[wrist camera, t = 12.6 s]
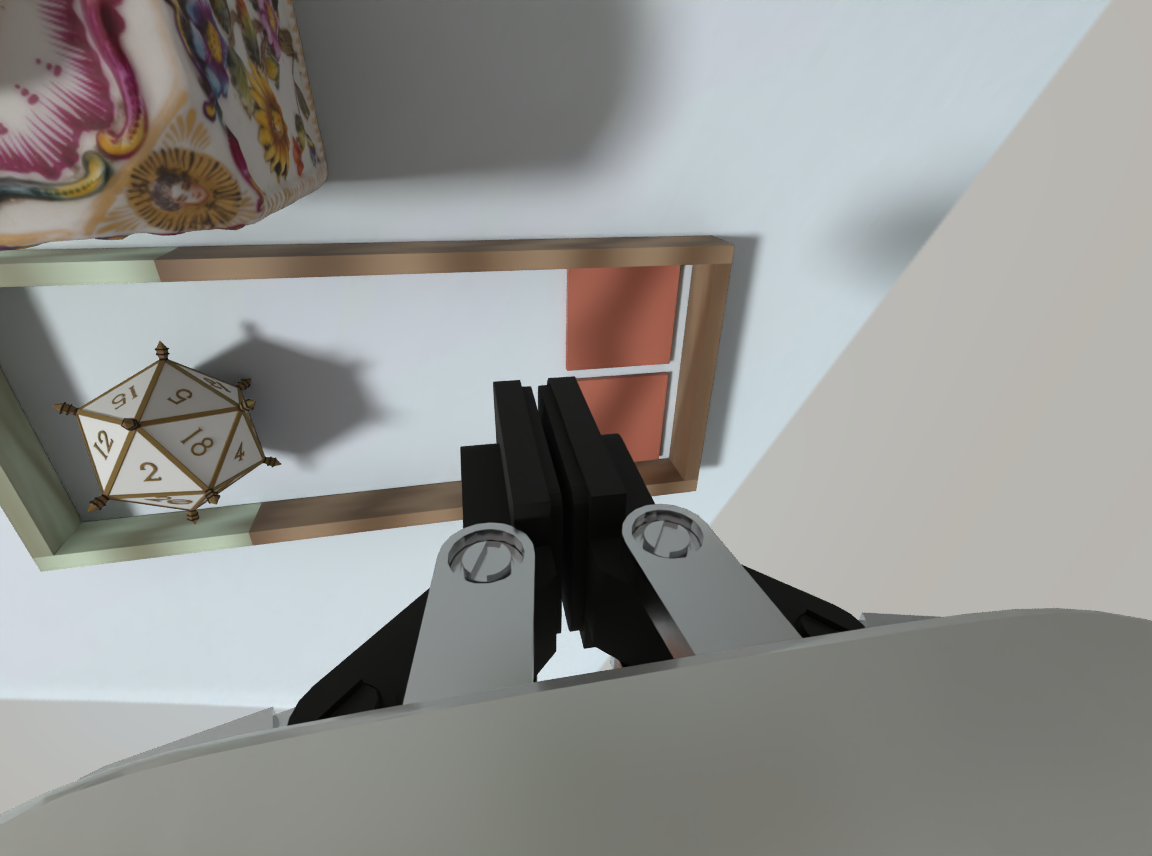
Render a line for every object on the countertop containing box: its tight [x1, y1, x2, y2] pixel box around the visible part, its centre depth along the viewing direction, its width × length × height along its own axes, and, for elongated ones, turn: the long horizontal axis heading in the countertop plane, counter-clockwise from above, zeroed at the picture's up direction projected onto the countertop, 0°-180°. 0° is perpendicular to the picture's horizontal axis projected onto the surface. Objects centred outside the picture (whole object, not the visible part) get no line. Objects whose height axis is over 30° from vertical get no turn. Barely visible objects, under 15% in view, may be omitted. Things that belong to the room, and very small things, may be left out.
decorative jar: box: [0, 0, 328, 251], centre depth 16 cm, size 12×12×18 cm
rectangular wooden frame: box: [0, 236, 735, 571], centre depth 32 cm, size 40×17×3 cm, turn 89°
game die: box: [52, 341, 281, 524], centre depth 28 cm, size 9×8×10 cm
